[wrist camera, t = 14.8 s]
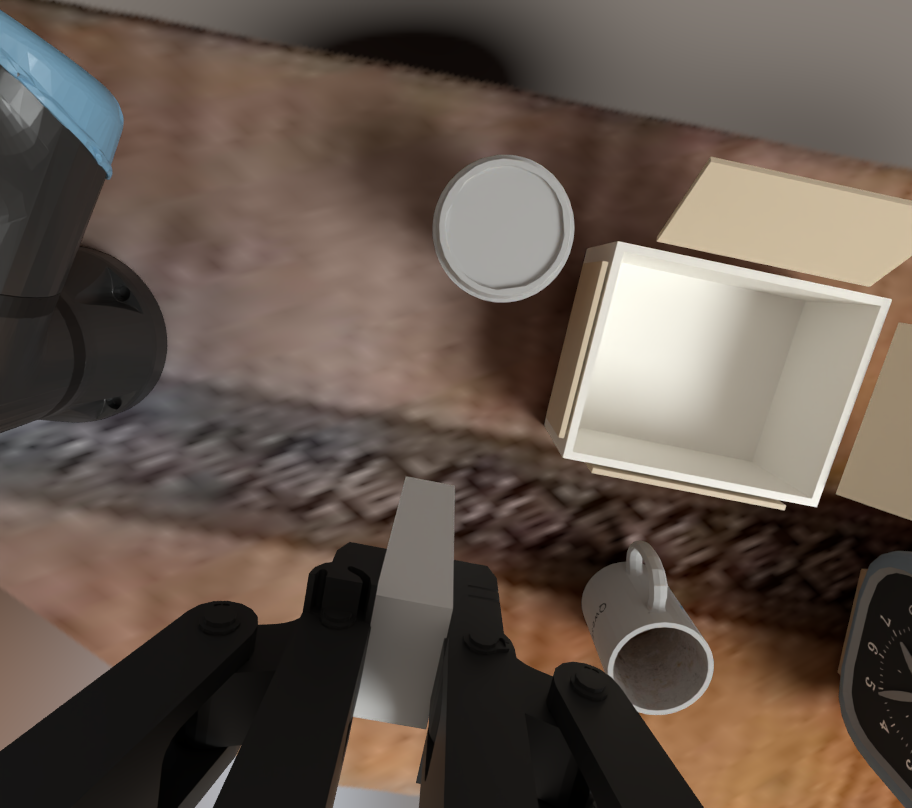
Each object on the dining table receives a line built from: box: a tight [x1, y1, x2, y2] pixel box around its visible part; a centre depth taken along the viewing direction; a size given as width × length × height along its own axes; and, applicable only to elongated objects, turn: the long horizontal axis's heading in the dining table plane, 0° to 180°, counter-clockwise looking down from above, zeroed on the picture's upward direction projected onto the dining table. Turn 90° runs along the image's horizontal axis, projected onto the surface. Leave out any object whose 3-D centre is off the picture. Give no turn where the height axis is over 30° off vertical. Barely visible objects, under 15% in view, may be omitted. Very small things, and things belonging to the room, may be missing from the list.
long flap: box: [657, 157, 912, 287], centre depth 36 cm, size 15×7×1 cm
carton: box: [544, 241, 892, 510], centre depth 46 cm, size 21×17×10 cm
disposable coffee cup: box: [433, 155, 574, 302], centre depth 43 cm, size 10×10×12 cm
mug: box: [582, 541, 714, 715], centre depth 51 cm, size 12×9×10 cm
